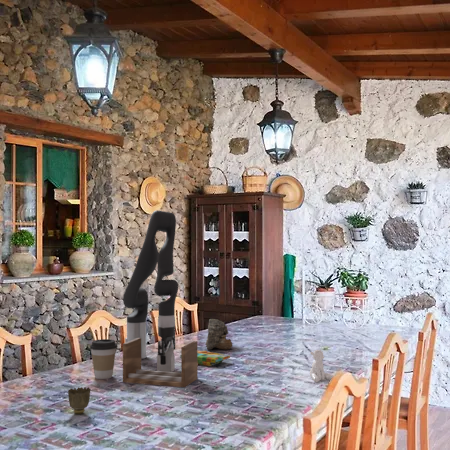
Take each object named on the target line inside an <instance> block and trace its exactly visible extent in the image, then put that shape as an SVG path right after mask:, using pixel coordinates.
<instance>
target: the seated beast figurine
mask: <svg viewBox="0 0 450 450" xmlns="http://www.w3.org/2000/svg"><path fill="white" fill-rule="evenodd" d="M310 355H312V358H313V362H312V364H311V368H310V371H309V376H310V379H311V380H312V381H313V382H314V383H318V382H319V381H320V382H321V381H326V380H327V381H332V380H331V378H332V377H333V378H334V376H333V374H331V373H329V372H325V368H324V362H323V361H324V358H325V356H324V352H323V351H322V350H320V349H317V350H314V351H310Z"/></svg>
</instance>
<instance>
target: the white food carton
mask: <svg viewBox="0 0 450 450" xmlns="http://www.w3.org/2000/svg"><path fill="white" fill-rule="evenodd" d="M175 361H176V359H175V350H174V351H173V348H169V349H168V351H167V352H166V364H165V365H161V364H160V355H158V354H157V356H156V371H164V372H174V371H175V370H176V368H175V366H176V365H175Z"/></svg>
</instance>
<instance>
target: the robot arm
mask: <svg viewBox="0 0 450 450" xmlns="http://www.w3.org/2000/svg"><path fill="white" fill-rule="evenodd" d="M151 213H152V214H151V215H150V219H149V220H148V226H147V230H146V233H145V238H144V240H143V243H142V246H141V249H140V252H139V255H138V257H137V260H136V263H135V268H134V269H133V272H132V274H131V277H130V280H129V282H128V284H127V286H126V288H125V290H124V294H123V296H122V303H123V305H124V307H125V308H127V309H134V310H133V312H132V313H130V314H128V315H127V316H126V337H125V338H124V343H126V342H128V341H131V340H134V339H136V338H141V360H142V359H145V358H147V317H148V311H149V294H148V292H147V290H146V289H145V288H143V287H142V285H143V284H144V282H145V281H147V279H148V278H149V277H150V276H152V274H153V273H154V271H155V270H156V268H157V272H156V273H157V275H156V279H155V283H154V287H153V290H154V294H155V295H156V296H158V297H169V296H170V297H169V298H168V299H167V300H163V301H160V302H159V303H158V318H157V336H158V337H159V338H161V340H158V341H157V355H160V364H161V365H165V364H166V352H167V351H168V349H169V348H173V351H174V352H175V350H176V316H175V311H176V310H175V305H176V299H177V295H178V291H179V283H178V281H177V280H176V279H163V278H165V277H168V276H172V275H173V274H174V270H175V268H174V248H175V247H174V246H175V238H176V229H177V227H176V226H177V220H176V219H177V217H176V214H175V213H173V212H170V211H164V210H163V211H162V210H154V211H153V212H151ZM157 232H164V233H165V235H166V237H165V240H164V244H163V245H162V246H161V248H160V250H158V247H157V242H156V235H157Z"/></svg>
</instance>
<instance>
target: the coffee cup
mask: <svg viewBox="0 0 450 450" xmlns="http://www.w3.org/2000/svg"><path fill="white" fill-rule="evenodd" d="M117 348H118V344H117V343H116V341H115V340H114V339H107V338H105V339H95V340H92V342H91V344H90V345H89V349H90V352H91V359H92V366H93V368H92V369H93V374H94V375H93V376H94V379H97V380H108V379H111V378H113V374H114V367H115V359H116V352H117Z"/></svg>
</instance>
